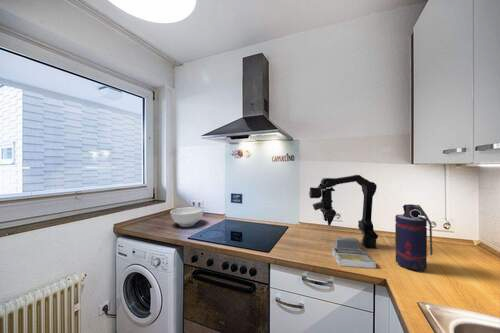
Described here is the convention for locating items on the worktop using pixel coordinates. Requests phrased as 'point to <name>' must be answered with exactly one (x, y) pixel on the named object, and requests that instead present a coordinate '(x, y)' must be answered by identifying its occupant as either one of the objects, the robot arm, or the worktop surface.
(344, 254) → the rack
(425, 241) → the grenade
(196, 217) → the decorative bowl
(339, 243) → the panel
